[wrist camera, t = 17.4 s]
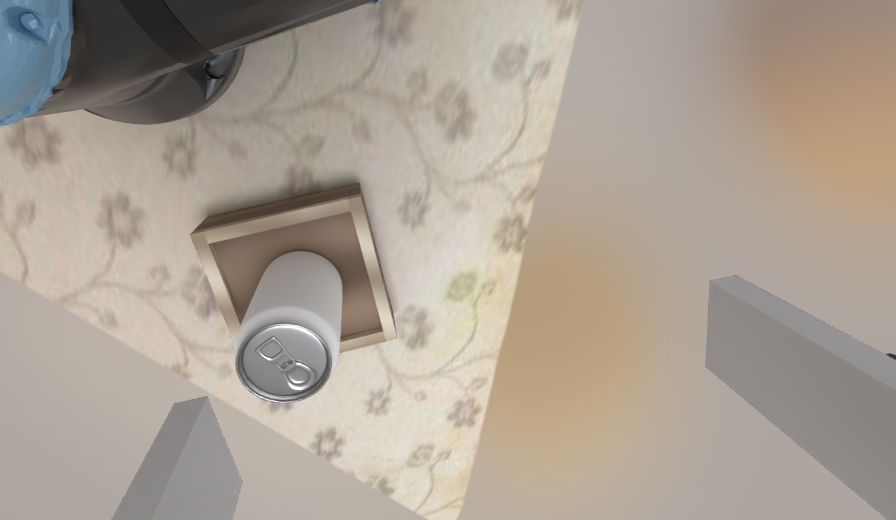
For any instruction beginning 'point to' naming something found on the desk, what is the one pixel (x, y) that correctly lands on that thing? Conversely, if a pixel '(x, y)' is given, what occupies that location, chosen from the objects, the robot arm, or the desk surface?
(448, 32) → the desk surface
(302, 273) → the can
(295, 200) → the wooden tray
